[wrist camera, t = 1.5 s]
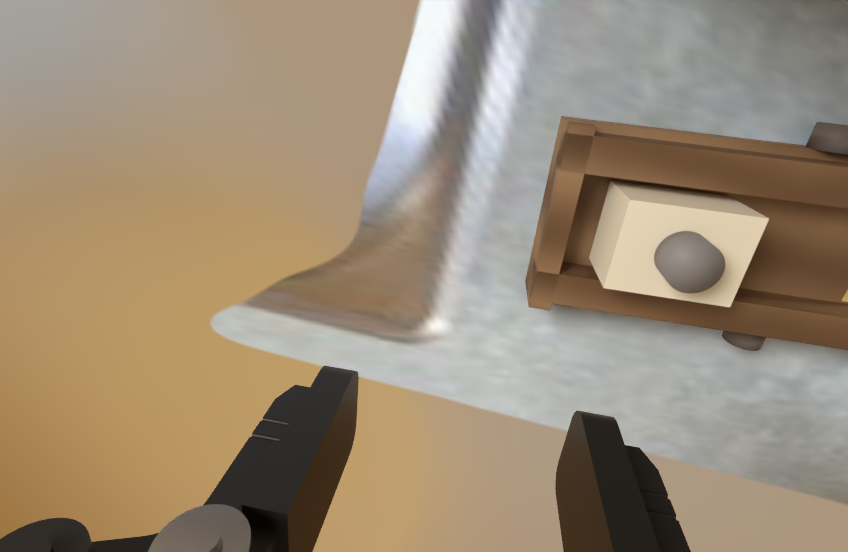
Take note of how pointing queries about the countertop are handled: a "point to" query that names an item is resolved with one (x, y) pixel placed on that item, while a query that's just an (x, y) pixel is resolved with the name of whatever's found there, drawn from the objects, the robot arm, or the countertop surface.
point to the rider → (674, 243)
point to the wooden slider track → (717, 174)
